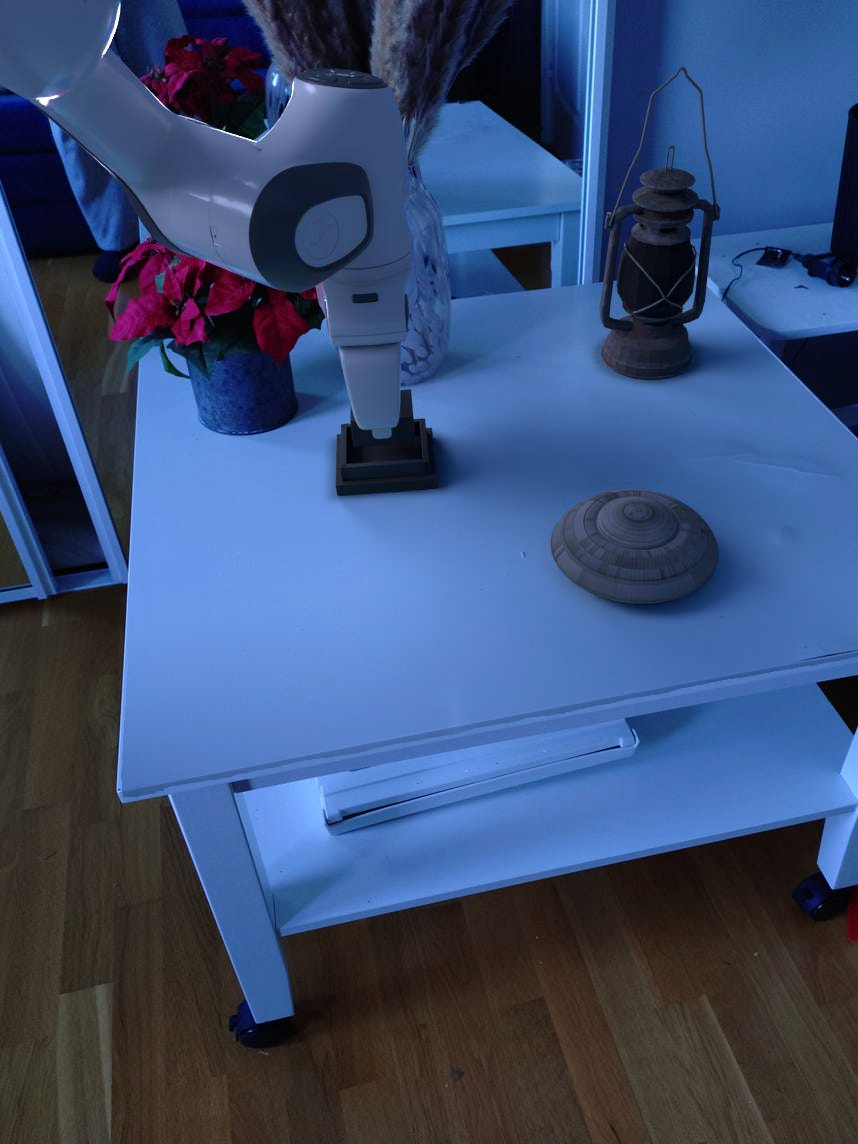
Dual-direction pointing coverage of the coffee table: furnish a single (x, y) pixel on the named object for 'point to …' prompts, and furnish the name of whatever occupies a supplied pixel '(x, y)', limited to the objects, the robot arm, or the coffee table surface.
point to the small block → (399, 433)
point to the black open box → (385, 464)
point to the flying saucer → (635, 546)
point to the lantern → (657, 269)
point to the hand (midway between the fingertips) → (381, 416)
